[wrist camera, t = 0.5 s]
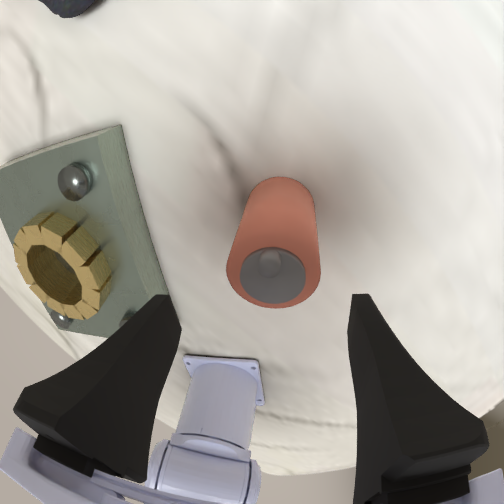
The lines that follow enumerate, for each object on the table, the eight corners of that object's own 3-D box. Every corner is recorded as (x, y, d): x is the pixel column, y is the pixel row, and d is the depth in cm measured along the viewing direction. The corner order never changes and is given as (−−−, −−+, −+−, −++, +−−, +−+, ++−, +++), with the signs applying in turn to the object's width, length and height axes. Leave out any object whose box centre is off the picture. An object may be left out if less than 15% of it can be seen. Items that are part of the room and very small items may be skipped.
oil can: (314, 236, 21) (320, 325, 14) (251, 237, 21) (229, 324, 15) (313, 175, 18) (323, 247, 12) (243, 178, 19) (212, 249, 12)
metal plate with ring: (178, 321, 28) (162, 363, 23) (71, 310, 30) (50, 342, 26) (121, 124, 18) (76, 145, 14) (7, 162, 20) (-30, 185, 16)
